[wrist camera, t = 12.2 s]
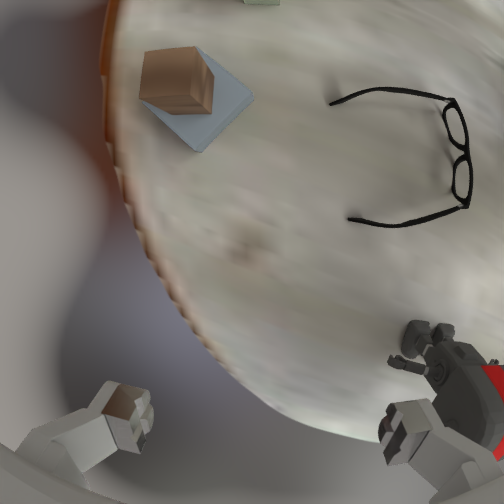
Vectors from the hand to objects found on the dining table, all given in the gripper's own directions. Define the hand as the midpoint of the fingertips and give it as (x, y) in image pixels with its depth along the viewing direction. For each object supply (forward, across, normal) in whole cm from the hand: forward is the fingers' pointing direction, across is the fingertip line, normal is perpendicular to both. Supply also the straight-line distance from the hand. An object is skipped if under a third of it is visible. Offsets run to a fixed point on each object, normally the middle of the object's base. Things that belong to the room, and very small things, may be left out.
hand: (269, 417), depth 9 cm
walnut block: (+25, +9, -16) cm, 31 cm away
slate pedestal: (+30, +9, -16) cm, 35 cm away
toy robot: (+29, -26, +15) cm, 42 cm away
